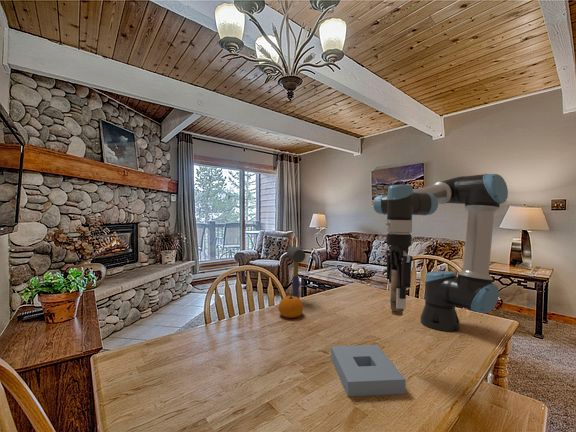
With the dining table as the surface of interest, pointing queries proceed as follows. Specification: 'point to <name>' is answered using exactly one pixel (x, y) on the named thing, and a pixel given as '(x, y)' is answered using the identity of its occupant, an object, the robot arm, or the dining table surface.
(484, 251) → the robot arm
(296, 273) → the rubber mallet
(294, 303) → the fruit
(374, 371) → the seat board
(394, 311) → the peg
